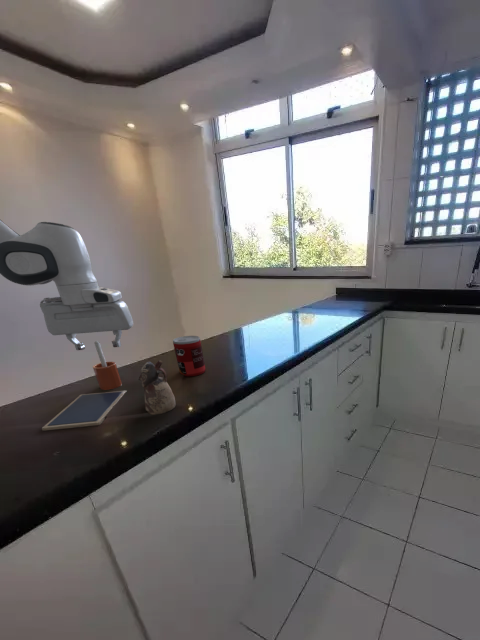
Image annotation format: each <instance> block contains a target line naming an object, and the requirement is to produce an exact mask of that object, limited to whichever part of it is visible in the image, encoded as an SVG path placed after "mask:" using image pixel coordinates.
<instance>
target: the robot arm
mask: <svg viewBox="0 0 480 640" xmlns="http://www.w3.org/2000/svg"><path fill="white" fill-rule="evenodd" d="M0 275H1V276H2V277H3V278H5V279H6V280H8V281H10V282H12V283H14V284H17V285H21V286H27V287H28V286H30V287H31V286H36V285H37V286H39V285H45V284H50V283H51V282H54V284H55V286H56V289H57V291H58V294H59V296H55V297H44V298H43V299H42V300H41V301H40V303H39V307H40V310H41V312H42V314H43V318H44V322H45V327H46V329H47V331H48V333H49V334H51V335H52V336H62V335H63V336H65V337H66V339H67V341H69V342H70V343H72V344H73V345H74V348H75V350H76V351H83V350H85V349H86V346H85V343H84V342H83V341H82V342H81V341H79V340H78V339H77V335H78V334H91V333H105V332H112V334H113V336H115V338H114V339H113V340H111V344H112V347H113V348H120V347H121V346H122V343H121V337H122V335H123V332H122V331H128V330H130V329H132V328H133V326H134V323H135V322H134V320H133V316H132V314H131V311H130V308H129V306H128V304H127V303H126V302H125V301H123V300H122V298H123V294H122V292H121V291H120V290H117V289H113V288H108V287H104V286H100V285H99V282H98V280H97V278H96V276H95V275H94V272H93V265H92V260H91V257H90V255H89V252H88V249H87V246H86V243H85V241H84V239H83V237H82V236H81V234H80V232H79V231H78V230H77V229H76V228H74V227H71V226H70V225H68V224H63V223H59V222H53V221H52V222H50V221H40V222H38V223H36V225H35V226H34V227H32V228H31V229H30V230H28V231H27V232H25V233H23V234H19V233H17V231H16V230H14V229H12V228H11V227H10V226H9V225H8V224H6V223H5V222H4V221H3V220H1V219H0Z"/></svg>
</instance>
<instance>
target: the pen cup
mask: <svg viewBox="0 0 480 640" xmlns="http://www.w3.org/2000/svg"><path fill="white" fill-rule="evenodd" d="M106 364H107V367H102V364H101V362H99V363H96V364H94V365H92V369H93V372H94V375H95V378H96V380H97V381H96V382H97V383H98V386H99V389H100V390H102V391H107V390H113V389H117V388H119V387H121V386H122V385H123V382H122V380H121V376H120V373H119V369H118V367H117V363H116V361H106Z"/></svg>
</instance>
